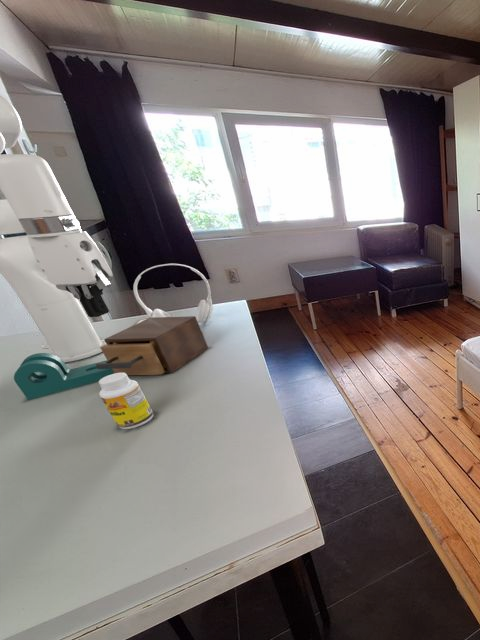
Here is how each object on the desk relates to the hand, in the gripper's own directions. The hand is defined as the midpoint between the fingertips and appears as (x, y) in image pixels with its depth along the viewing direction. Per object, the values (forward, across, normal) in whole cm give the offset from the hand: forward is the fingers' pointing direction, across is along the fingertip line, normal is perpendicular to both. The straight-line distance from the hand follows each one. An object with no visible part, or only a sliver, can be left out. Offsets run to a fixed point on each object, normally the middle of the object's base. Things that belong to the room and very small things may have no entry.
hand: (99, 314), depth 79 cm
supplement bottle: (+17, -14, +16) cm, 27 cm away
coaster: (+17, +28, -38) cm, 51 cm away
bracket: (+17, +14, -1) cm, 22 cm away
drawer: (+16, 0, -5) cm, 17 cm away
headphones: (+17, +11, -33) cm, 39 cm away
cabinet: (+17, 0, -10) cm, 20 cm away
